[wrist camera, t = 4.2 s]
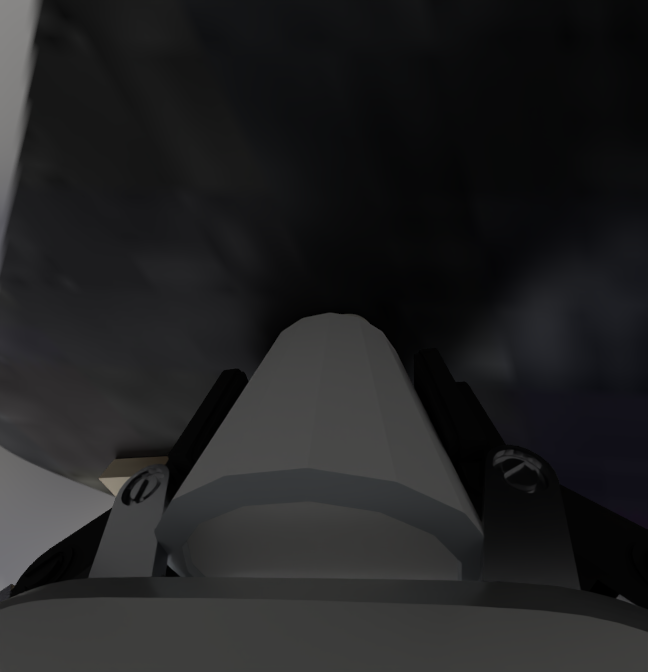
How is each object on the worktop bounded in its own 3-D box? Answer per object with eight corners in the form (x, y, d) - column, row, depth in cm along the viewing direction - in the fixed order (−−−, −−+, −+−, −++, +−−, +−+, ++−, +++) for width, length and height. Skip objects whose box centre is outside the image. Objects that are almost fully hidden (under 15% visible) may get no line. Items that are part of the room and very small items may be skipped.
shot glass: (335, 447, 14) (328, 650, 8) (223, 371, 12) (98, 564, 6) (448, 372, 11) (573, 596, 5) (328, 258, 9) (296, 400, 3)
